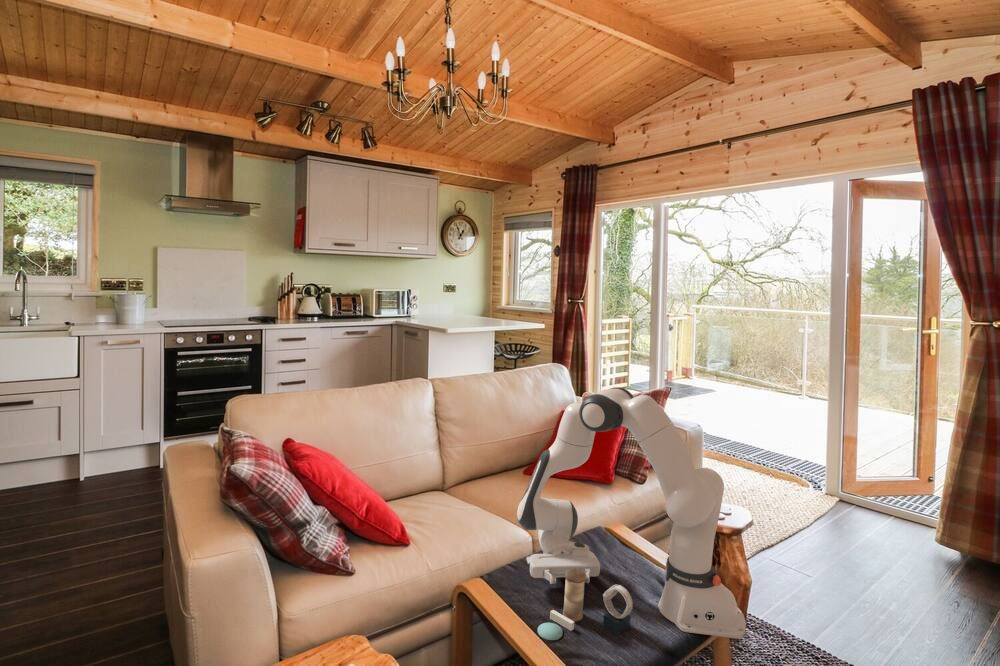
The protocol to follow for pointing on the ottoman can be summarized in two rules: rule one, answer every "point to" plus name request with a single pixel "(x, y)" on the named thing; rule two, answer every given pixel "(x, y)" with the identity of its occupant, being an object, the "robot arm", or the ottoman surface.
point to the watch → (617, 610)
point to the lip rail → (562, 620)
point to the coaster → (550, 631)
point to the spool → (574, 594)
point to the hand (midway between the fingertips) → (570, 581)
